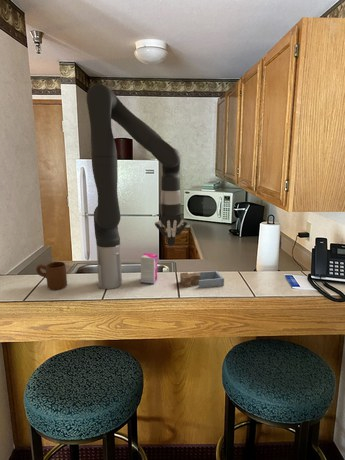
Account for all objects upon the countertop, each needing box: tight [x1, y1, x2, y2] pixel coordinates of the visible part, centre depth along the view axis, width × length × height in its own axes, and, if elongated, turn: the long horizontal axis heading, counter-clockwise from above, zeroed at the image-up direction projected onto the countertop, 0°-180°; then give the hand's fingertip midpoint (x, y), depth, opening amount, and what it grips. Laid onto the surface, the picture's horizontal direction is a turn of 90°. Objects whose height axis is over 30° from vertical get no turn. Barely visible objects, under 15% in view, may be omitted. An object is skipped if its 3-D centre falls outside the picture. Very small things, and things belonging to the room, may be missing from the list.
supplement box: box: [140, 252, 158, 285], centre depth 137 cm, size 6×6×12 cm
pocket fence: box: [193, 270, 225, 289], centre depth 137 cm, size 10×9×3 cm
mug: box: [35, 261, 68, 291], centre depth 132 cm, size 12×8×9 cm, turn 83°
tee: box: [179, 272, 202, 288], centre depth 135 cm, size 8×6×4 cm
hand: (170, 245), depth 130 cm, fingers closed
